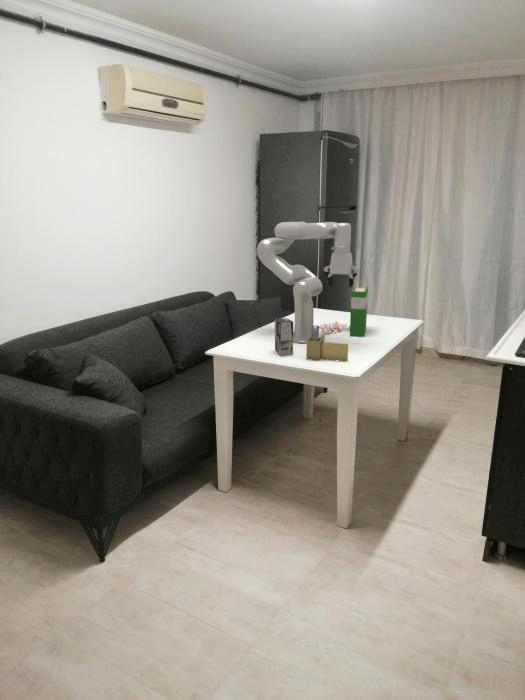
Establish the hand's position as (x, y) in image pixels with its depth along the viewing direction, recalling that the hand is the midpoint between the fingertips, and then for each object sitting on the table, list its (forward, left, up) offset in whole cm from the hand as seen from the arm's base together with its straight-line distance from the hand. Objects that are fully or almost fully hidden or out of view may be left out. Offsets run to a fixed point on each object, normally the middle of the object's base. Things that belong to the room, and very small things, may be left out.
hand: (340, 286), depth 263 cm
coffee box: (-22, -21, -30) cm, 43 cm away
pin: (-6, -24, -30) cm, 39 cm away
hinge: (0, -18, -30) cm, 35 cm away
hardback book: (+3, +31, -30) cm, 44 cm away
